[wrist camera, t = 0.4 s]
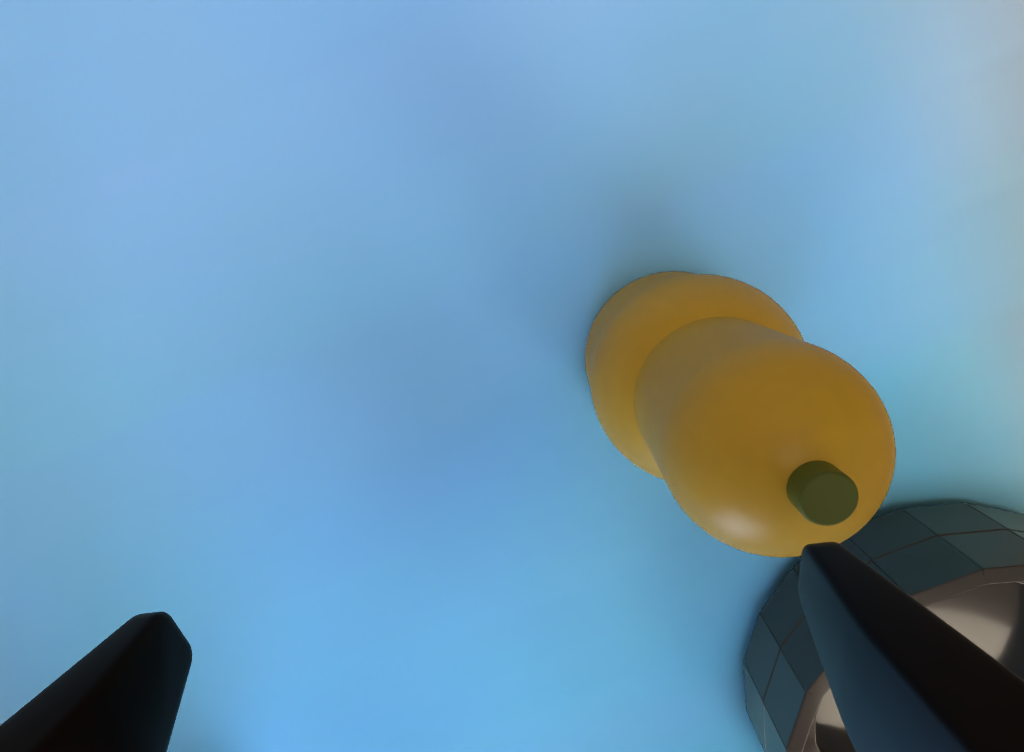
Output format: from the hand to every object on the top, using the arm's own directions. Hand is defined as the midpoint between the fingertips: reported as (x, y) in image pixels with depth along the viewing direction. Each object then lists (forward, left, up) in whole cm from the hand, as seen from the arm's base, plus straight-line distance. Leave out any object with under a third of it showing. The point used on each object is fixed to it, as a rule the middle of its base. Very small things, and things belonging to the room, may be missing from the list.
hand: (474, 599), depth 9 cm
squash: (+3, -5, -15) cm, 16 cm away
